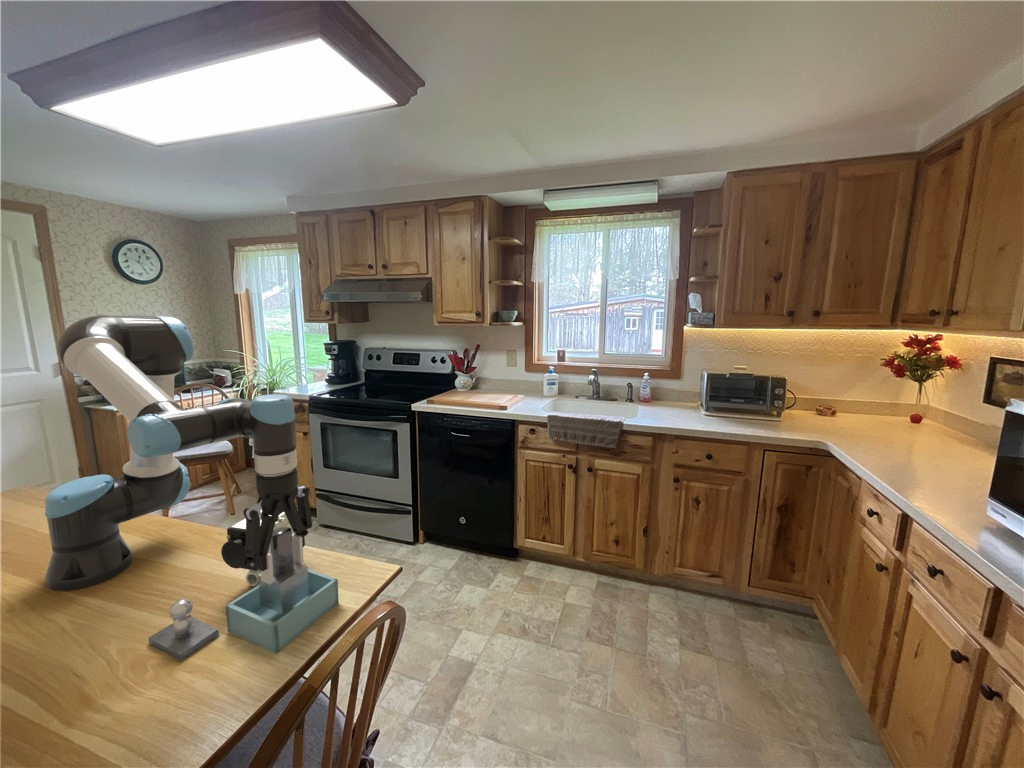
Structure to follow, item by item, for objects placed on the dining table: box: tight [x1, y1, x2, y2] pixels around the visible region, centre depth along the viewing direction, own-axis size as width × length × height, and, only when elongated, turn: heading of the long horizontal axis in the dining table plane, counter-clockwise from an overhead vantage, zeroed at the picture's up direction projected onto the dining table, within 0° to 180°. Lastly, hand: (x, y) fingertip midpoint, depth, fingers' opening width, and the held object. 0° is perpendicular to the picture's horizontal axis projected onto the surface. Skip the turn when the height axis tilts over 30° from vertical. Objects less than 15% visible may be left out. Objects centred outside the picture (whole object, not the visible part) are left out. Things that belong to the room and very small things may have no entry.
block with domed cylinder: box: [258, 527, 309, 614], centre depth 88 cm, size 7×7×16 cm
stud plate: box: [148, 598, 220, 662], centre depth 82 cm, size 10×7×9 cm
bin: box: [225, 568, 340, 655], centre depth 90 cm, size 14×16×6 cm
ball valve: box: [220, 509, 298, 587], centre depth 102 cm, size 18×8×18 cm, turn 168°
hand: (283, 571), depth 88 cm, fingers closed on block with domed cylinder, 7 cm apart
